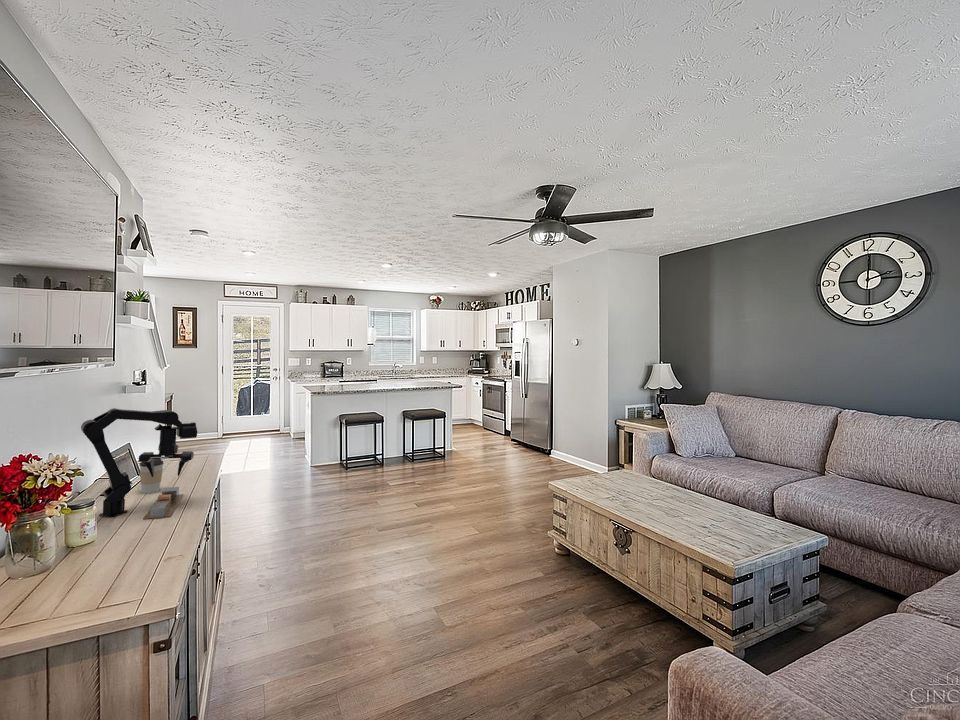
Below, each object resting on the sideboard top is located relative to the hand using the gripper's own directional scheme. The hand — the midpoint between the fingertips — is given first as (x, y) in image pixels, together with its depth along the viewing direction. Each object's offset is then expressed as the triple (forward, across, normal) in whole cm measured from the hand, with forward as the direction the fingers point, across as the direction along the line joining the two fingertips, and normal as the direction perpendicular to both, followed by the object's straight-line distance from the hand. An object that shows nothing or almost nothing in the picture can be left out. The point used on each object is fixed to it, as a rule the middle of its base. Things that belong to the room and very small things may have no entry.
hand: (165, 476), depth 193 cm
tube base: (+12, -1, +2) cm, 12 cm away
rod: (+11, -1, +6) cm, 13 cm away
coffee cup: (+12, +10, -22) cm, 27 cm away
